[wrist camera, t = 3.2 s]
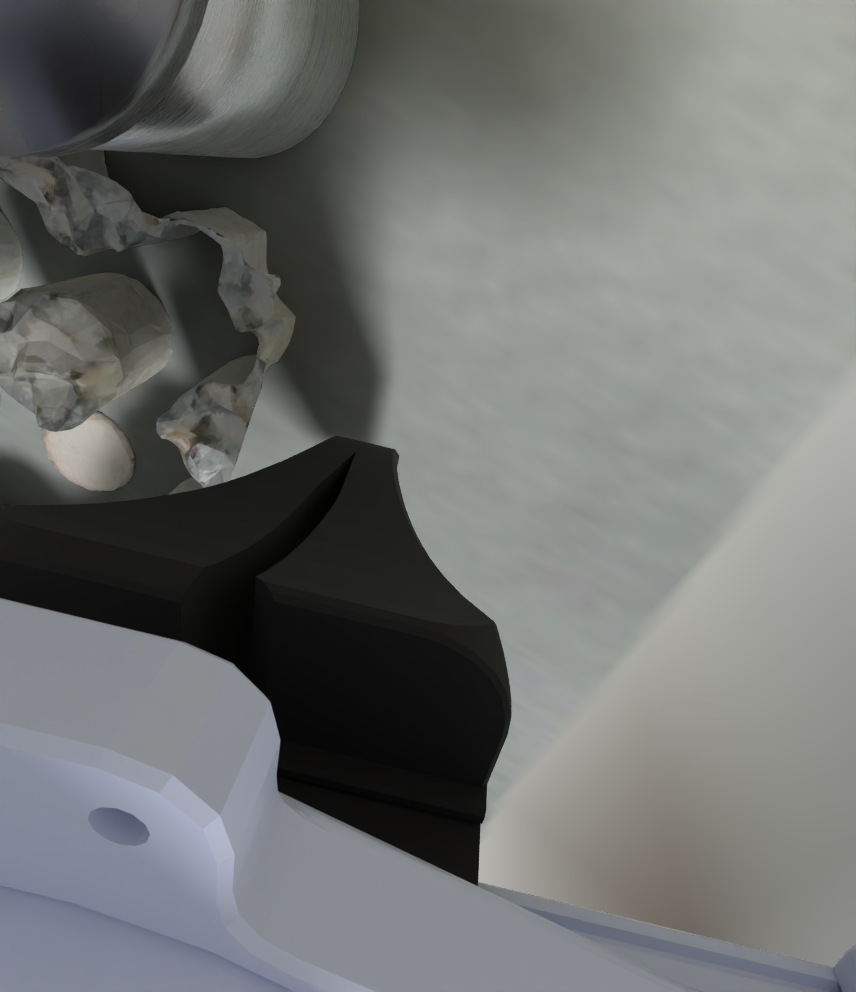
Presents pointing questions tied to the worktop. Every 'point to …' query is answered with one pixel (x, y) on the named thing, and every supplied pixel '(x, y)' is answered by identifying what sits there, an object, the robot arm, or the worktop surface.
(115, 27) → the jar with metallic lid
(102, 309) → the egg carton
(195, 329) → the worktop surface
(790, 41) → the worktop surface
